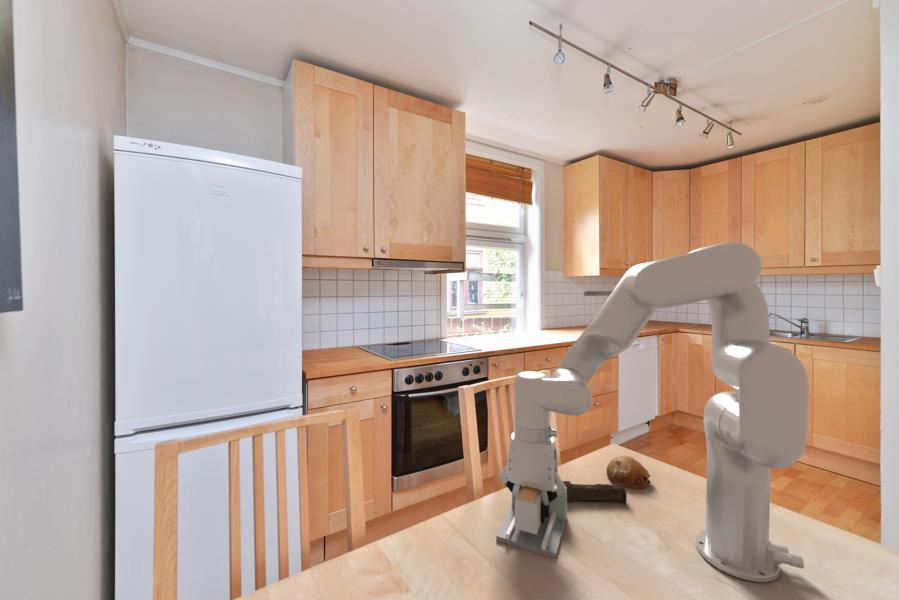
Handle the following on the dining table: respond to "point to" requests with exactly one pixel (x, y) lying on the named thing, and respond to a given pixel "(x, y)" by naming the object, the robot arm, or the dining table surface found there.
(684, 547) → the dining table surface
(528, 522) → the holder
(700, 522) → the dining table surface
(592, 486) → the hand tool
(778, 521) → the dining table surface
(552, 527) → the chute mount
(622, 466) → the bread roll
